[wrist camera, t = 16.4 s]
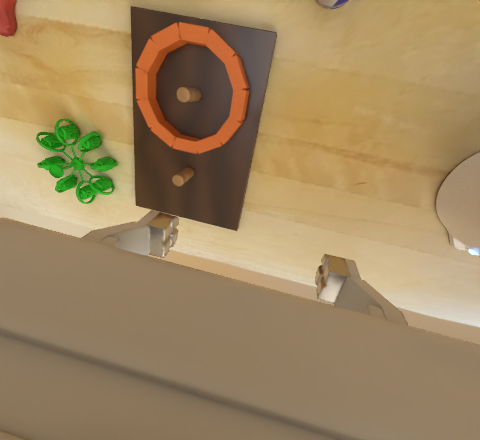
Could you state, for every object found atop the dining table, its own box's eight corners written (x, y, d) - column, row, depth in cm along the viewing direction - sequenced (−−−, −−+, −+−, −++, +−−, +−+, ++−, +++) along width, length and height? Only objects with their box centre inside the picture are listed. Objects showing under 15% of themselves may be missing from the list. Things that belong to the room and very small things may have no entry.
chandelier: (36, 118, 45) (-4, 122, 39) (111, 117, 42) (80, 121, 36) (65, 197, 52) (34, 210, 46) (131, 200, 49) (108, 215, 43)
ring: (258, 39, 33) (255, 35, 30) (237, 158, 40) (234, 162, 38) (144, 18, 34) (134, 13, 32) (145, 137, 41) (136, 140, 39)
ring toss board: (277, 34, 33) (274, 23, 28) (238, 228, 47) (231, 244, 42) (135, 8, 35) (107, -7, 29) (139, 203, 49) (120, 216, 44)
